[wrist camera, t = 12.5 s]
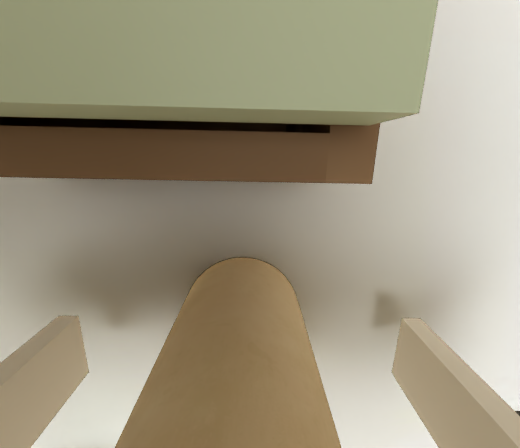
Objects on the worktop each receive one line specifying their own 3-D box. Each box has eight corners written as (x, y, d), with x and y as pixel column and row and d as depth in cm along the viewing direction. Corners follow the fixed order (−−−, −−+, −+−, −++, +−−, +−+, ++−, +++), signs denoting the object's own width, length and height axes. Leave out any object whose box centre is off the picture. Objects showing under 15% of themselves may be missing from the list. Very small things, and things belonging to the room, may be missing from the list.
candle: (316, 281, 13) (513, 690, 3) (268, 364, 14) (299, 840, 4) (213, 237, 12) (39, 588, 2) (172, 329, 13) (-50, 804, 4)
